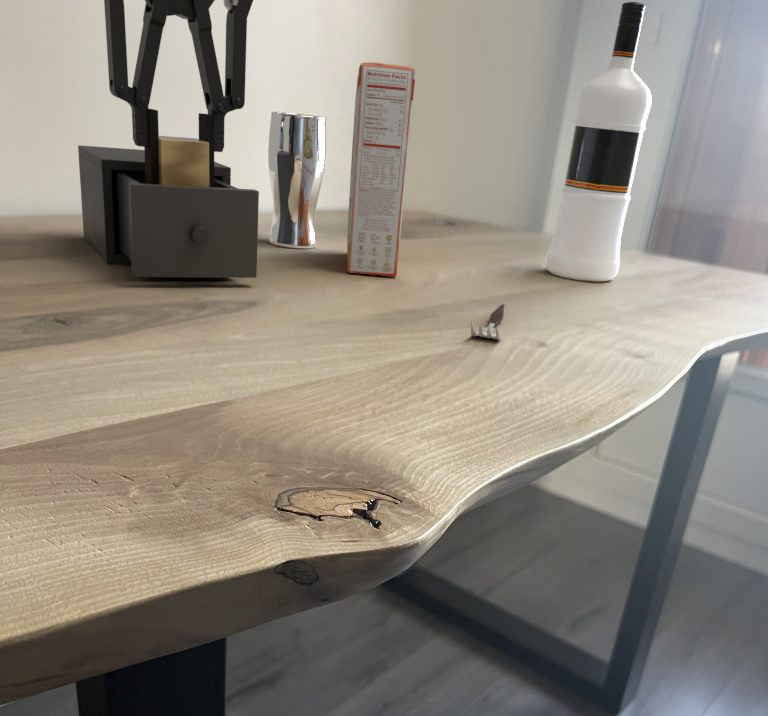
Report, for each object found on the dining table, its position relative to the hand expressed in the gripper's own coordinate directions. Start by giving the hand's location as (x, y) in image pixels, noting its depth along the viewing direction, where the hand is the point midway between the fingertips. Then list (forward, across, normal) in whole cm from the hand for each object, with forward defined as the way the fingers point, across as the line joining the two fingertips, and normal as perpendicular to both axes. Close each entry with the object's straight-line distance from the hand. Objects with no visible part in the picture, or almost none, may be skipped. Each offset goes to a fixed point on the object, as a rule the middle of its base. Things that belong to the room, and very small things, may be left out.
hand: (179, 186), depth 78 cm
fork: (+8, +23, -22) cm, 33 cm away
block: (0, 0, 0) cm, 0 cm away
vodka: (+8, +51, 0) cm, 52 cm away
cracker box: (+8, +24, +5) cm, 26 cm away
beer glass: (+8, +19, +18) cm, 27 cm away
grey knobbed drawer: (+7, 0, 0) cm, 7 cm away
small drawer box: (+8, 0, +12) cm, 14 cm away
